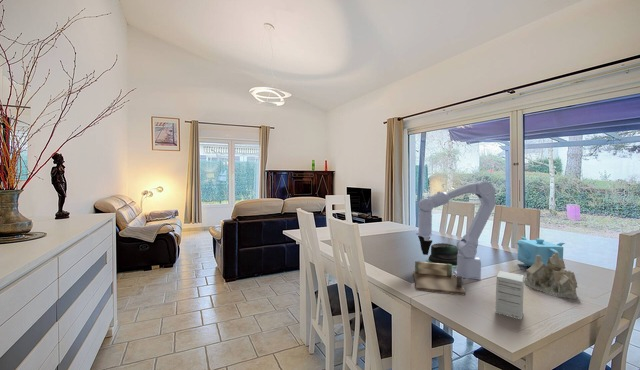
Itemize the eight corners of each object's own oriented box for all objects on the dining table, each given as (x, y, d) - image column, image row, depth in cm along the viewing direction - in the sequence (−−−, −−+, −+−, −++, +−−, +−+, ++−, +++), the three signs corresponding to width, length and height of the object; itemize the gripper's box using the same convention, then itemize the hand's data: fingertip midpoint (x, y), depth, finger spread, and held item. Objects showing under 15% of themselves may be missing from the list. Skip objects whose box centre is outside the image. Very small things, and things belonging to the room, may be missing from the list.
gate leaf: (451, 275, 127) (451, 264, 127) (452, 276, 125) (452, 265, 125) (414, 271, 131) (414, 261, 131) (415, 273, 129) (415, 262, 129)
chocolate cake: (448, 255, 164) (448, 239, 163) (473, 266, 145) (474, 248, 144) (417, 257, 160) (417, 241, 159) (439, 268, 140) (439, 250, 140)
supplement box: (497, 305, 101) (499, 270, 101) (523, 311, 97) (524, 275, 96) (494, 312, 96) (495, 276, 95) (521, 320, 91) (523, 281, 90)
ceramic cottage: (521, 278, 127) (525, 246, 125) (569, 287, 119) (573, 252, 117) (528, 294, 113) (532, 257, 111) (582, 304, 106) (587, 266, 104)
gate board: (455, 276, 129) (455, 265, 129) (465, 295, 109) (466, 282, 109) (413, 272, 133) (413, 262, 133) (416, 289, 114) (416, 277, 114)
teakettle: (560, 277, 129) (561, 245, 128) (511, 267, 143) (512, 238, 142) (564, 268, 142) (566, 239, 142) (519, 259, 156) (521, 233, 155)
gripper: (415, 221, 142) (414, 248, 142) (417, 226, 128) (416, 256, 128) (430, 221, 140) (429, 249, 140) (434, 227, 126) (433, 257, 126)
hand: (424, 252), depth 134 cm, fingers open, 6 cm apart
